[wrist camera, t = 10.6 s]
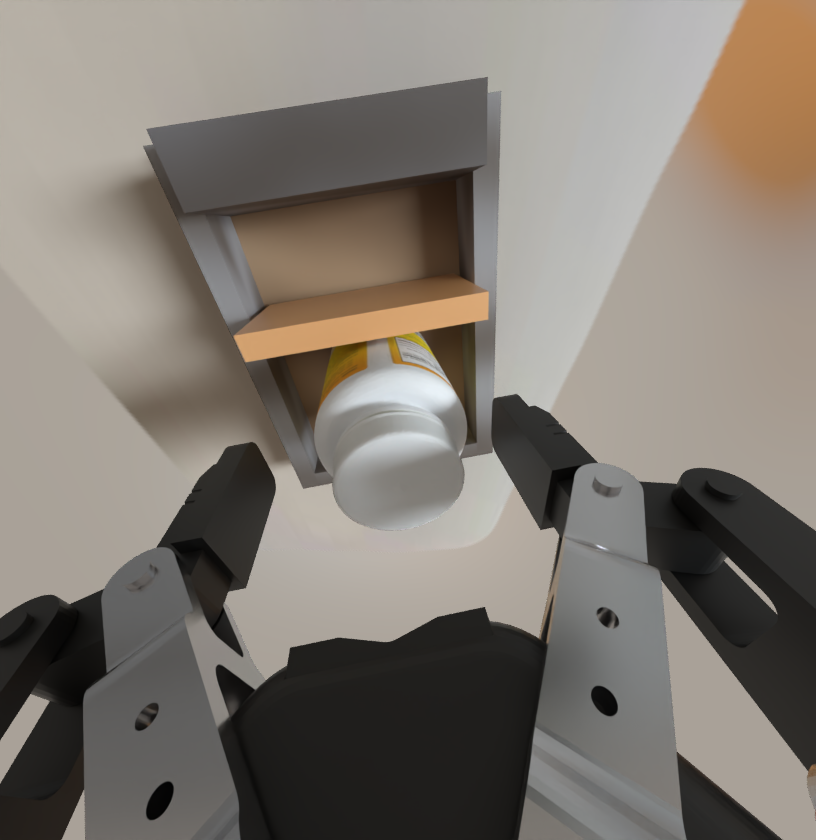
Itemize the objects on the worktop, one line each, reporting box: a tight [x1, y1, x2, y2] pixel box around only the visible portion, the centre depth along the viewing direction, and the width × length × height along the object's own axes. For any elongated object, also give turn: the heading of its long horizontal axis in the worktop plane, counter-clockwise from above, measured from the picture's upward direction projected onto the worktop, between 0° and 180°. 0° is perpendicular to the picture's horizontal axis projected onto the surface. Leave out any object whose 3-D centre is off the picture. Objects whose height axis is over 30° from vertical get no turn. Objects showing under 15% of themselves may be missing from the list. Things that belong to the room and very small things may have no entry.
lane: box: [143, 77, 501, 489], centre depth 15 cm, size 17×13×5 cm
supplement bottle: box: [314, 332, 467, 531], centre depth 13 cm, size 6×6×10 cm
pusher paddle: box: [234, 273, 489, 362], centre depth 13 cm, size 1×9×5 cm, turn 98°
